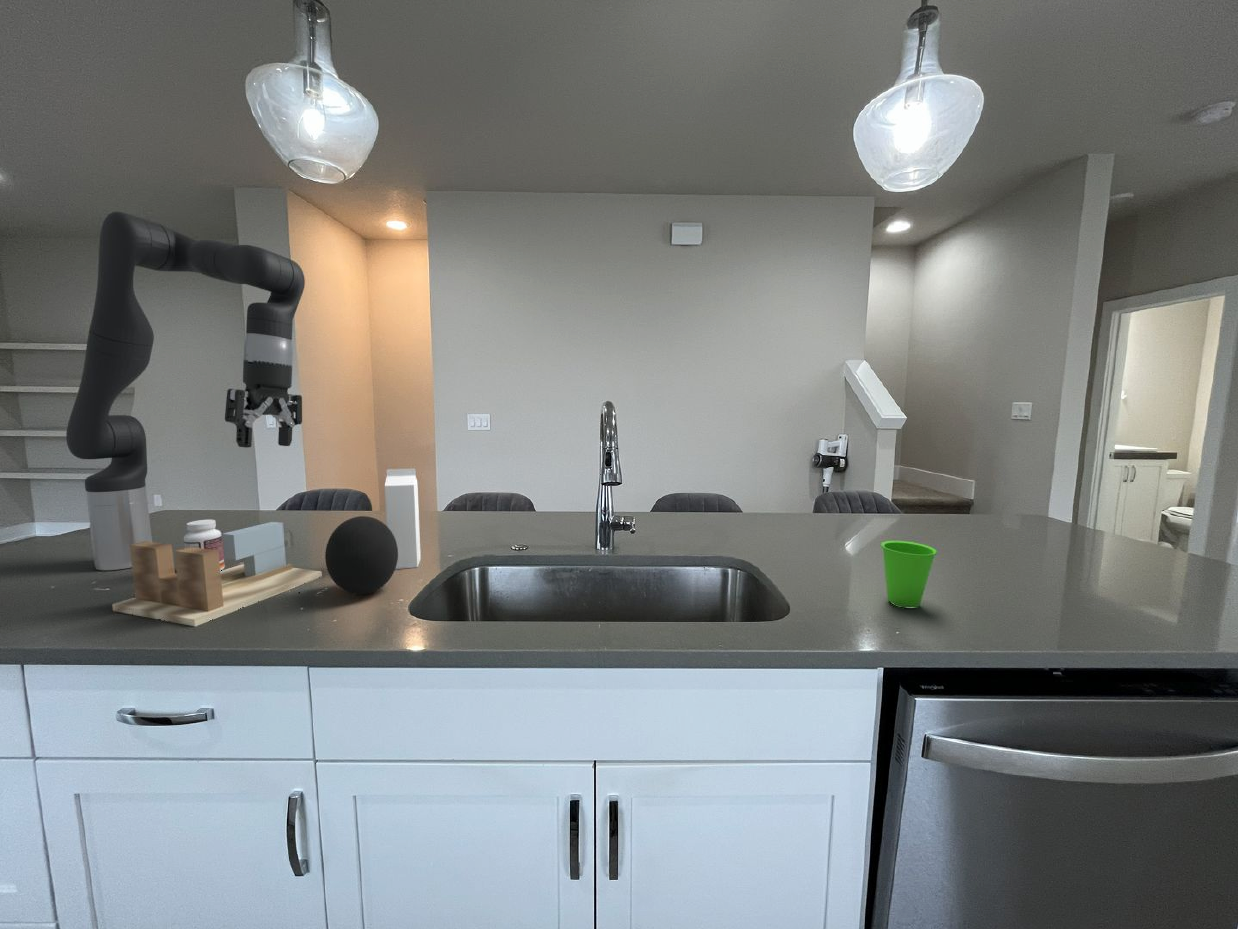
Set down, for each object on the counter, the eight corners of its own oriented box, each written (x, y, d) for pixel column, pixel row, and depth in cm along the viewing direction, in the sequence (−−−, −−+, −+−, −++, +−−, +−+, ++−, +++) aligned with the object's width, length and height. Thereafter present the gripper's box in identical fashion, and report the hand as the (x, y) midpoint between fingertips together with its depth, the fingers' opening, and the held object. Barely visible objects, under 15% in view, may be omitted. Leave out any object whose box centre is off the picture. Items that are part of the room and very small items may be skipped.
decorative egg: (365, 609, 86) (360, 527, 85) (312, 600, 90) (306, 521, 88) (413, 584, 98) (410, 512, 96) (364, 578, 102) (360, 508, 100)
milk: (417, 568, 108) (413, 470, 106) (388, 570, 107) (383, 471, 104) (420, 559, 114) (417, 466, 111) (392, 561, 113) (388, 467, 110)
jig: (113, 610, 85) (105, 548, 83) (250, 567, 108) (246, 517, 106) (195, 626, 79) (188, 560, 78) (321, 576, 102) (318, 525, 101)
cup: (924, 598, 94) (929, 543, 93) (938, 617, 86) (943, 557, 84) (872, 591, 97) (877, 538, 96) (881, 609, 89) (885, 551, 87)
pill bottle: (225, 565, 109) (220, 517, 107) (225, 572, 104) (220, 522, 103) (188, 570, 105) (182, 521, 103) (186, 579, 100) (181, 527, 99)
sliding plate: (226, 583, 95) (222, 533, 93) (275, 567, 104) (271, 521, 103) (238, 585, 94) (233, 535, 93) (286, 568, 103) (282, 522, 102)
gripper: (283, 364, 99) (280, 443, 101) (214, 353, 85) (211, 445, 87) (315, 367, 98) (311, 447, 99) (250, 356, 84) (247, 449, 85)
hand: (265, 446), depth 93 cm, fingers open, 8 cm apart
